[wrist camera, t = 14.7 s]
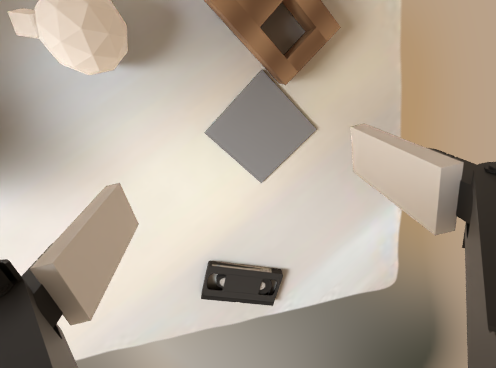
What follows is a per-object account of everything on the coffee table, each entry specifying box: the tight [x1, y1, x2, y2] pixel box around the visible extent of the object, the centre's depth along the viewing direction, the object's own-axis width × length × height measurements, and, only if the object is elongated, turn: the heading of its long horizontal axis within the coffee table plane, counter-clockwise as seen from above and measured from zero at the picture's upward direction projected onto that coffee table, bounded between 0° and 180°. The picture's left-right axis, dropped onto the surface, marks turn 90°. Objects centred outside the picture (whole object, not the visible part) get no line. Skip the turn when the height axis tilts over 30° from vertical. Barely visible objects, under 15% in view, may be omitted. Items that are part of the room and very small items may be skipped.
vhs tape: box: [201, 261, 283, 306], centre depth 52 cm, size 14×8×2 cm, turn 77°
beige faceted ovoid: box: [7, 0, 128, 75], centre depth 30 cm, size 9×9×12 cm
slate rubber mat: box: [205, 70, 316, 183], centre depth 41 cm, size 12×12×1 cm
